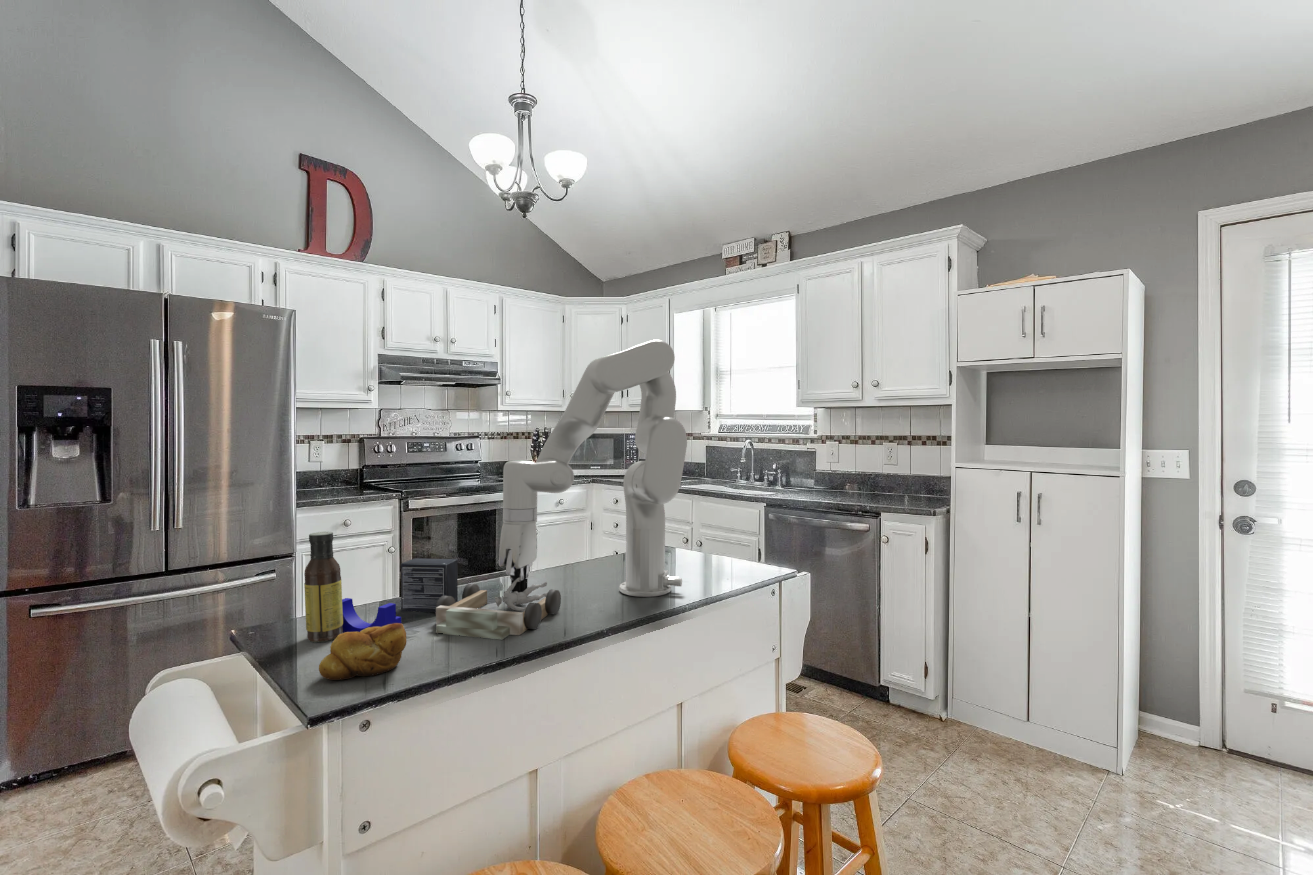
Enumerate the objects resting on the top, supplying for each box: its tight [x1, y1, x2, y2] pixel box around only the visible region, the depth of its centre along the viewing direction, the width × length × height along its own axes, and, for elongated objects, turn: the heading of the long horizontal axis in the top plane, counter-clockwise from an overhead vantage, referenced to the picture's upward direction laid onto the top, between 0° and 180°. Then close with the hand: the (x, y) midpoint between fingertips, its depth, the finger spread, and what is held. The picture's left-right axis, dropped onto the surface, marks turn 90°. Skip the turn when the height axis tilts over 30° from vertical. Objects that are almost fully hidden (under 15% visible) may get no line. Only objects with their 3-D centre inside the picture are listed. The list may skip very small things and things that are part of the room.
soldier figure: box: [494, 577, 548, 612], centre depth 139 cm, size 8×5×12 cm
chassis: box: [434, 583, 562, 640], centre depth 130 cm, size 21×20×5 cm
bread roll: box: [318, 622, 408, 681], centre depth 103 cm, size 13×10×8 cm
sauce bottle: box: [303, 531, 343, 643], centre depth 119 cm, size 6×6×20 cm
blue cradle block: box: [342, 597, 402, 633], centre depth 123 cm, size 12×4×6 cm, turn 72°
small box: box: [400, 557, 459, 613], centre depth 138 cm, size 11×6×10 cm, turn 84°
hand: (519, 596), depth 142 cm, fingers closed
